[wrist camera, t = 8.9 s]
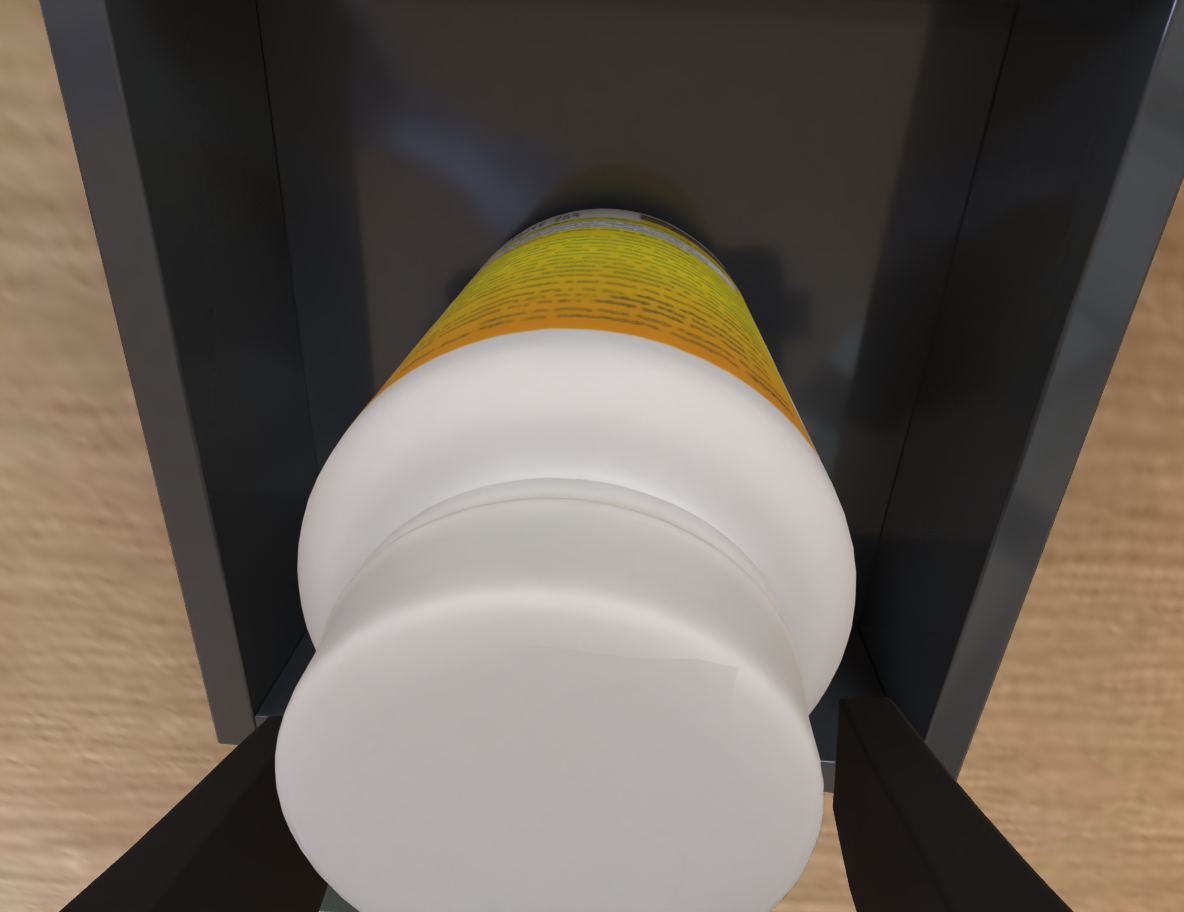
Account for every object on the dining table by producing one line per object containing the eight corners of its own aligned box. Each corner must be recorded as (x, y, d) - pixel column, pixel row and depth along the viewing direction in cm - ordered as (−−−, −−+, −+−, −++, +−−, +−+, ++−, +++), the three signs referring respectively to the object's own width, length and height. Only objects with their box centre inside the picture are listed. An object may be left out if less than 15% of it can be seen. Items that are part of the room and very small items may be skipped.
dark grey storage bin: (315, 590, 18) (217, 744, 14) (219, -84, 12) (-6, -174, 8) (875, 631, 18) (949, 803, 14) (1059, -44, 12) (1296, -117, 8)
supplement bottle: (413, 261, 14) (-28, 604, 5) (706, 157, 13) (880, 341, 4) (523, 510, 16) (369, 1072, 7) (780, 440, 15) (999, 994, 6)
